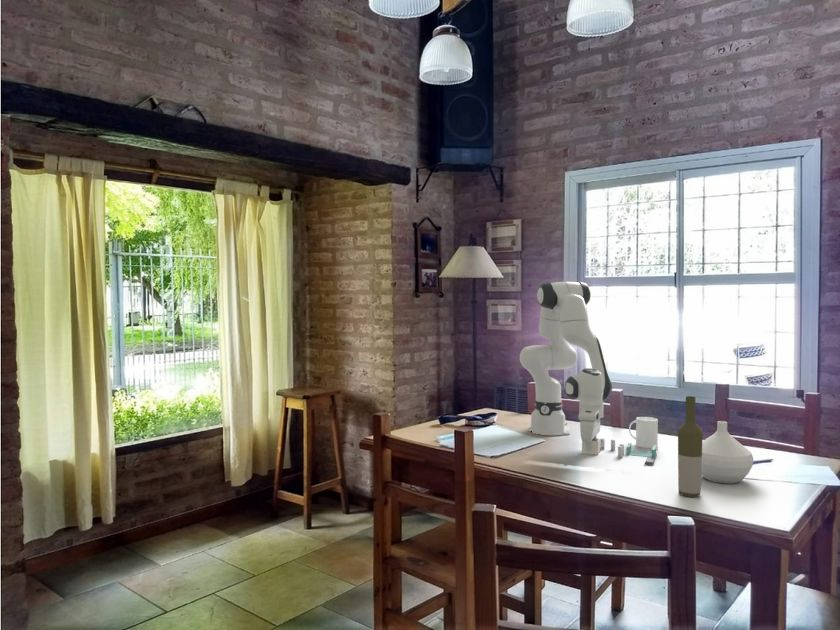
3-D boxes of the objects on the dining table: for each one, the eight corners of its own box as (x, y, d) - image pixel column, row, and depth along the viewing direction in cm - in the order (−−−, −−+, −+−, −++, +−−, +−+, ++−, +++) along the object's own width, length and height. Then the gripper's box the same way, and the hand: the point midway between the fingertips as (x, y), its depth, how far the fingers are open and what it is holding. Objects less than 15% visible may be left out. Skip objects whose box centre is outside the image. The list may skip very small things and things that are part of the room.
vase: (750, 491, 192) (751, 430, 192) (687, 482, 202) (687, 423, 201) (754, 476, 208) (755, 420, 207) (695, 468, 217) (696, 414, 217)
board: (586, 448, 246) (587, 435, 246) (656, 455, 235) (656, 442, 235) (579, 457, 233) (579, 443, 232) (653, 465, 221) (653, 451, 221)
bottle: (681, 489, 194) (682, 394, 193) (705, 494, 189) (706, 396, 188) (673, 495, 189) (674, 397, 188) (697, 500, 184) (698, 399, 183)
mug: (623, 446, 250) (624, 417, 249) (636, 443, 255) (636, 414, 254) (650, 452, 240) (650, 421, 240) (662, 449, 245) (662, 419, 245)
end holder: (628, 450, 238) (628, 442, 238) (656, 453, 234) (656, 445, 234) (626, 454, 232) (626, 446, 232) (654, 457, 227) (654, 449, 227)
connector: (583, 450, 238) (584, 436, 238) (599, 452, 235) (600, 438, 235) (581, 452, 234) (582, 439, 234) (598, 454, 232) (598, 440, 231)
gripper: (587, 407, 245) (587, 441, 245) (577, 416, 226) (577, 453, 227) (604, 408, 242) (604, 443, 243) (595, 417, 224) (594, 455, 224)
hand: (590, 448), depth 235 cm, fingers open, 7 cm apart
